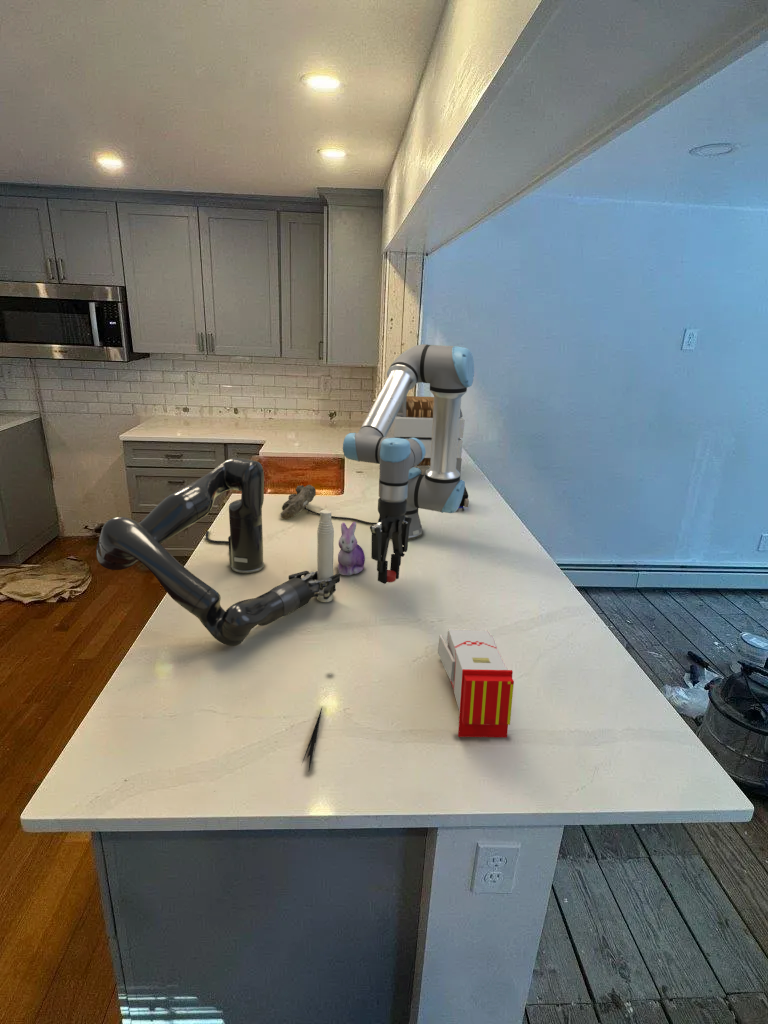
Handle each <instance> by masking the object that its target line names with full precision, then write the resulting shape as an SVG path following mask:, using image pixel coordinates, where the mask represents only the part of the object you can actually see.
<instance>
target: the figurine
mask: <svg viewBox="0 0 768 1024" xmlns="http://www.w3.org/2000/svg"><path fill="white" fill-rule="evenodd" d="M356 528H357V521H353V522H352V523H351V524H350V525H349V527H348V526H347V524H346V523H345V522H344V521H343V522H341V524H340V531H341V532H340V533H341V534H340V537H339V539H338V546H339V549H340V550H339V551H338V553H337V562H338V565H337V570H338V574H340V575H342V576H352V575H357V574H359V573H361V572H362V571H364V568H365V563H366V557H365V556H366V555H365V551H364V550H363V547H362V546H361V545H360V544H359V543H358V540H357V538H356V534H355V532H356Z"/></svg>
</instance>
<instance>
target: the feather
mask: <svg viewBox="0 0 768 1024" xmlns="http://www.w3.org/2000/svg"><path fill="white" fill-rule="evenodd" d="M329 675H330V676H331V675H332V674H331V673H330V674H329ZM322 710H323V707H321V708H320V710H319V713H318V716H317V719H316V723H315V725H314V728H313V731H312V733H311V737H310V739H309V742H308V745H307V748H306V751H305V754H304V757H303V760H302V763H301V767H302V765H303V763H304V761H305V758H308V759H309V760H308V762H307V763H308V764H307V766H308V771H310V770H311V766H312V765H311V764H312V760H313V757H315V756H314V755H315V751H316V749H315V746H317V739H318V733H319V729H320V722H321V717H322V712H323V711H322ZM313 754H314V755H313ZM306 755H307V757H306Z"/></svg>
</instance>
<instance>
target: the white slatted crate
mask: <svg viewBox="0 0 768 1024" xmlns="http://www.w3.org/2000/svg"><path fill="white" fill-rule="evenodd" d="M433 407H434V396H415V395H414V396H413V395H412V396H411V395H408V394H407V395H406V397H405V399H404V401H403V403H402V405H401V407H400V409H399V411H398V413H397V415H396V417H395V419H394V421H393V423H392V425H391V427H390V429H389V431H388V433H387V435H386V437H387V438H403V439H407V438H417V439H419V440H420V441H421V442H422V443H423V444H424V446H425V450H426V453H425V457H424V459H423V460H422V461H421V462H420V463H419V464H418V465H417V466H418V467H430V460H431V442H432V425H433ZM464 429H465V419H464V418H463V411H462V407H461V408H460V422H459V435H458V448H457V461H456V469H457V470H458V471H459V473H460V475H461V472H462V461H463V460H462V453H463V442H464V441H463V440H462V439H463V438H464V431H465V430H464ZM417 466H416V467H417Z"/></svg>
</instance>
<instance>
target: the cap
mask: <svg viewBox="0 0 768 1024" xmlns="http://www.w3.org/2000/svg"><path fill="white" fill-rule="evenodd" d="M396 580H397V579H396V572H395V571H393V570H390V569H387V583H395V582H396Z"/></svg>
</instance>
